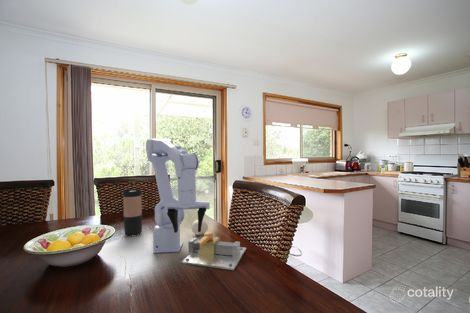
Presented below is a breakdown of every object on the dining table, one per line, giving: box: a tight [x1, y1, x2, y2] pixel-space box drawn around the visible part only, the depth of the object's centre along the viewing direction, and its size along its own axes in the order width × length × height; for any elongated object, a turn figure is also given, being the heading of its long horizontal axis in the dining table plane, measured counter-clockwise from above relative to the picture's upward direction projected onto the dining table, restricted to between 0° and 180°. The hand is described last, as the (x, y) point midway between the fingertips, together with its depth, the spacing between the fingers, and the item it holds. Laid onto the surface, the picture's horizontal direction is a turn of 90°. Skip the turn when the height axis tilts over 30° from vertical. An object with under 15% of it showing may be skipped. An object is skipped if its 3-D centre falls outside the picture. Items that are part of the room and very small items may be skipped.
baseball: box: [191, 219, 209, 236], centre depth 102 cm, size 7×7×7 cm
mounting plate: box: [180, 246, 247, 271], centre depth 80 cm, size 18×16×1 cm
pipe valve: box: [187, 236, 241, 257], centre depth 81 cm, size 18×6×5 cm, turn 74°
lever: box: [193, 231, 214, 250], centre depth 78 cm, size 12×3×2 cm, turn 164°
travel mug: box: [122, 188, 143, 237], centre depth 105 cm, size 8×8×20 cm
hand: (187, 231), depth 75 cm, fingers open, 7 cm apart
